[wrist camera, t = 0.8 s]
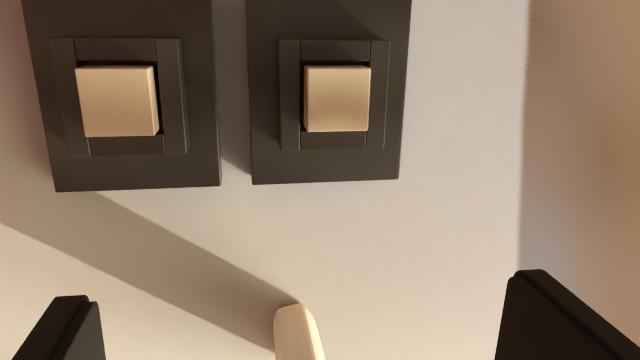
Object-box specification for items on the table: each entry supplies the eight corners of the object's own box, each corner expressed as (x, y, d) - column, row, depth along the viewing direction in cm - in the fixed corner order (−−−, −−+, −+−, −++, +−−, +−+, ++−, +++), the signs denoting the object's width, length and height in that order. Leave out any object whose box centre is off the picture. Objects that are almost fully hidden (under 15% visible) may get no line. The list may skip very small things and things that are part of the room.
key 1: (84, 65, 26) (74, 68, 24) (153, 65, 26) (147, 68, 24) (94, 130, 27) (84, 137, 25) (159, 128, 27) (154, 135, 26)
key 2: (303, 65, 27) (307, 68, 26) (363, 65, 28) (371, 68, 26) (303, 125, 29) (307, 132, 27) (361, 124, 29) (368, 131, 27)
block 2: (245, -11, 28) (245, -15, 25) (403, -7, 30) (423, -11, 27) (251, 177, 32) (252, 195, 29) (391, 171, 34) (407, 188, 31)
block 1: (30, -17, 26) (0, -21, 23) (211, -12, 28) (207, -16, 25) (65, 184, 30) (43, 203, 27) (222, 178, 32) (219, 196, 29)
